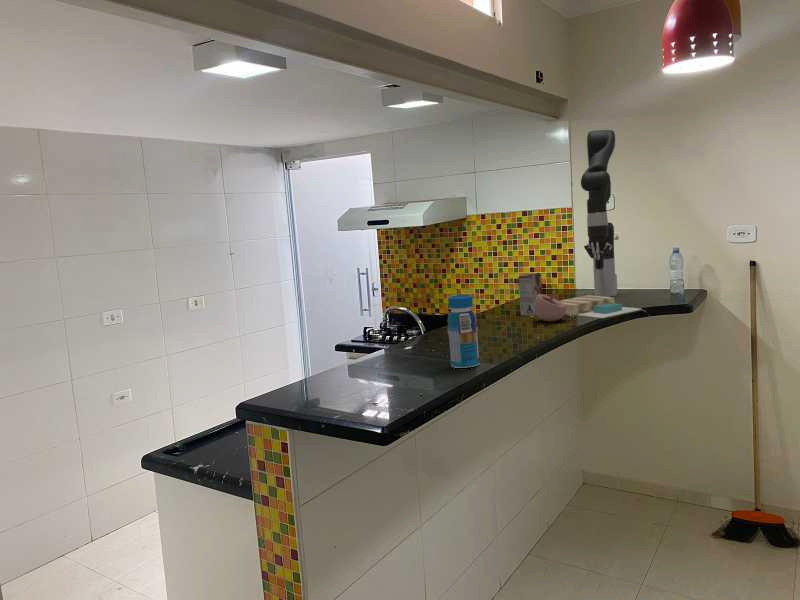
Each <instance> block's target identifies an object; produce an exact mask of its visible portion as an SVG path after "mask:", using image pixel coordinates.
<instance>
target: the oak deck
mask: <svg viewBox="0 0 800 600" xmlns="http://www.w3.org/2000/svg"><path fill="white" fill-rule="evenodd" d="M559 301H560V302H562V303H564V304H566V305H567V309H566V312H565V314H564V315H567V316H568V315H569V316H578V314H583V313H588V312H592V311H594V308H593V306H597V305H602V304H607V303H615V296H612V297H603V296H595V295H590V294H589V295H581V296H577V297H572V298H565V299H561V300H559Z"/></svg>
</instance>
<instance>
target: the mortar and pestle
mask: <svg viewBox="0 0 800 600" xmlns="http://www.w3.org/2000/svg"><path fill="white" fill-rule="evenodd" d="M555 296H556V291H555V290H552V292H551V295H550V296H549V295H546V294H543V293H542V294H538V295H537V297H536V298H535V301H534V310H535V313H536V315H535V316H537V317H538V318H539V319H540V320H542V321H544V322H547V323H548V322H550V323H551V322H557V321H558V320H560V319H562V317H563V316H564V315H566V314H565V312H566V309H567V305H566V304H564V303H562V302H560V301H561V300H558V299H556V298H555Z"/></svg>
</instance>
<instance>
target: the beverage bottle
mask: <svg viewBox="0 0 800 600" xmlns="http://www.w3.org/2000/svg"><path fill="white" fill-rule="evenodd" d="M447 300H448V301H447V302H448V308H449V309H450V312H449V313H448V317H447V321H446V323H447V324H448V327H447V334H448V340H449V341H448V342H449V344H448V345H449V353H450V367H451V366H452V367H451V368H453V367H454V368H453V369H455V368H467V367H474V366H477V365H479V366H480V363H481V362H480V355H479V341H478V331H479V328H478V326H477V324H476V323H477V316H476V313H475V312H474V310H472V308H473V307H474V306H473V305H474V302H473V301H474V300H473V296H472V294H455V295H451V296H448V298H447ZM477 367H478V366H477Z"/></svg>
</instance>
